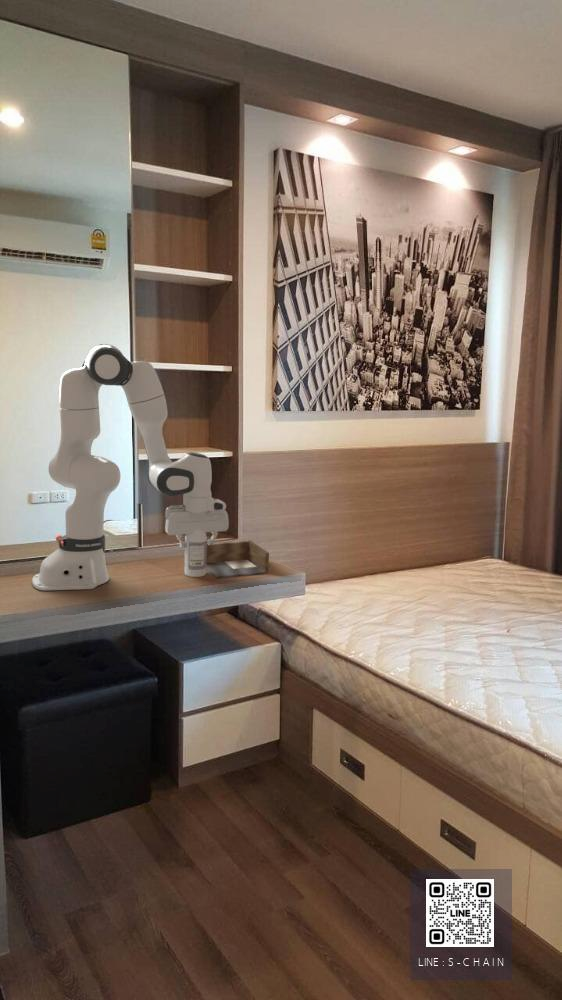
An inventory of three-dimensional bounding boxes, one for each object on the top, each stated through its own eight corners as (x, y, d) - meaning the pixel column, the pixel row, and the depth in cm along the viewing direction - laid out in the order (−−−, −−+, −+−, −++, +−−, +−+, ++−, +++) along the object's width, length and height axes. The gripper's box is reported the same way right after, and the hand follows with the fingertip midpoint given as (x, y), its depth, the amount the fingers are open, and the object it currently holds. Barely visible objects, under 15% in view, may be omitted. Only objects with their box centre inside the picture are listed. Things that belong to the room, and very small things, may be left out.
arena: (216, 578, 228) (216, 557, 227) (200, 564, 242) (200, 544, 241) (268, 573, 236) (269, 553, 234) (249, 560, 250) (250, 540, 248)
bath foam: (210, 575, 231) (211, 514, 227) (191, 578, 227) (193, 517, 223) (198, 569, 236) (199, 510, 232) (180, 573, 232) (181, 512, 228)
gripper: (167, 508, 220) (167, 551, 223) (230, 504, 228) (230, 546, 231) (162, 503, 225) (162, 546, 228) (224, 500, 233) (223, 541, 236)
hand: (197, 546), depth 230 cm, fingers open, 8 cm apart
